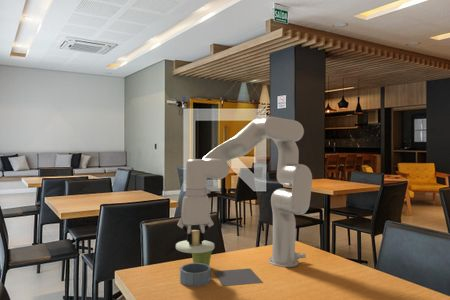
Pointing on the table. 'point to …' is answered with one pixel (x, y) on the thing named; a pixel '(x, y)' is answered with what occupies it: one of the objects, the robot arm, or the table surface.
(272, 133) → the robot arm
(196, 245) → the lid
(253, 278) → the mat
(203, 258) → the plant pot
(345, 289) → the table surface
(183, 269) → the bowl
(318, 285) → the table surface
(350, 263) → the table surface
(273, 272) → the table surface
